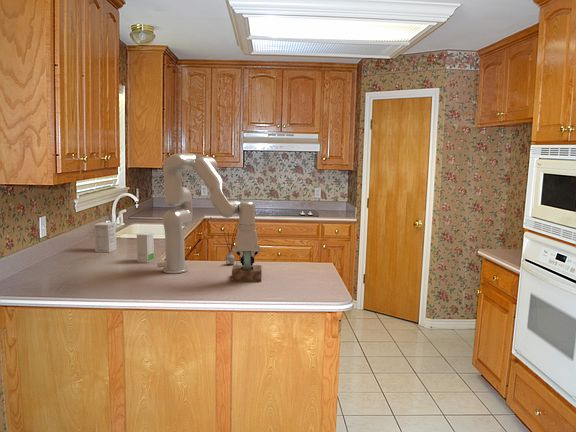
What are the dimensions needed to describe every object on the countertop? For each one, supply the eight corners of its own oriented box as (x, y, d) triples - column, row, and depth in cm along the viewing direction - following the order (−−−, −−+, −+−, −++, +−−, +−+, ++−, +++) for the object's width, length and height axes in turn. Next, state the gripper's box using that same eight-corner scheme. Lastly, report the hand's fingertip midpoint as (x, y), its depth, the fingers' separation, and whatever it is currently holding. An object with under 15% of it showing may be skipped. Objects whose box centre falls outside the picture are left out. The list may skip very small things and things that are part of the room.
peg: (243, 272, 244) (242, 251, 243) (243, 270, 248) (243, 250, 247) (251, 272, 245) (251, 251, 243) (251, 270, 249) (251, 250, 247)
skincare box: (147, 263, 276) (146, 234, 274) (136, 262, 278) (135, 234, 275) (154, 259, 284) (154, 232, 282) (143, 259, 286) (143, 231, 284)
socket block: (231, 281, 241) (231, 271, 240) (233, 275, 253) (233, 265, 252) (261, 281, 242) (261, 271, 241) (261, 275, 253) (261, 265, 253)
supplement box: (117, 249, 311) (116, 222, 309) (109, 252, 302) (108, 224, 300) (102, 249, 312) (101, 221, 310) (94, 252, 303) (93, 224, 301)
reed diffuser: (220, 264, 274) (220, 228, 271) (226, 262, 280) (226, 226, 278) (237, 266, 270) (237, 229, 268) (243, 263, 277) (243, 227, 274)
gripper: (229, 228, 240) (229, 266, 242) (264, 228, 240) (264, 266, 243) (230, 226, 247) (230, 263, 249) (264, 226, 248) (264, 263, 250)
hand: (247, 264), depth 246 cm, fingers closed on peg, 4 cm apart
